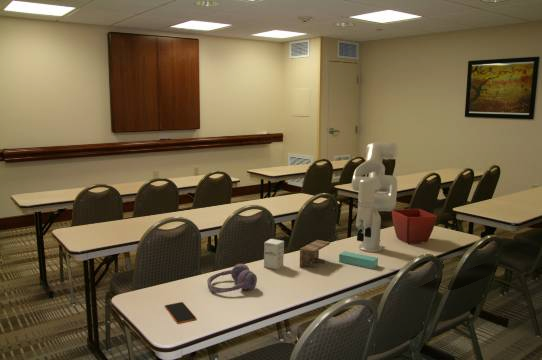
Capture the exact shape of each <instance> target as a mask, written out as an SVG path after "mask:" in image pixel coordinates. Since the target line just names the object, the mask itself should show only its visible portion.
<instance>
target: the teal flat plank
mask: <svg viewBox="0 0 542 360" xmlns="http://www.w3.org/2000/svg"><path fill="white" fill-rule="evenodd" d="M338 262H339V263H344V264H347V265H352V266H357V267H361V268H365V269H366V268H367V269H370V270H375V268H376V267H378V266H379V265H378V264H379V257H376V256H370V255H365V254H362V253H355V252H350V251H346V250H344V251H342V252H340V253H339V254H338Z"/></svg>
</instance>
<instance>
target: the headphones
mask: <svg viewBox="0 0 542 360" xmlns="http://www.w3.org/2000/svg"><path fill="white" fill-rule="evenodd" d="M229 275H231V278H232V279H233V281H234V282H236V283H237V285H233V286H232V287H216V286H215V285H213V284H212V282H213V281H214V280H216V279H217V278H219V277H221V276H222V277H223V276H229ZM206 282H207V289H208V291H210V292H211V293H214V294H222V293H223V294H224V293H228V292H232V291H236V290H237V291H239V290H240V289H241V290H246V291H248V290H251V289H254V287H256V285H257V283H258V277H257V275H256V273H254V272H253V271H252V270H250V268H249V266H248V265H247V264H245V263H237V264H235V265H234V266H233V268H232V269H229V270H224V271H221V272H218V273H215V274H213V275H211V276H210V277H208V278H207V281H206Z"/></svg>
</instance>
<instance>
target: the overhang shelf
mask: <svg viewBox="0 0 542 360" xmlns="http://www.w3.org/2000/svg"><path fill="white" fill-rule="evenodd" d="M330 244H331V243H330V241H325V240H319V239H316V240H315V241H312V242H310V243H308V244H307V245H305V246H303V247H301V248H299V268H300V269H302V268H304V267H310V268H311V267H312V268H316V269H317V268H319V267H318V264H317V263H314V262H318V263H322V264H325V263H326V259H323V258H319V257H320V250H322V249H324V248H325V247H328V246H329V245H330Z"/></svg>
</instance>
